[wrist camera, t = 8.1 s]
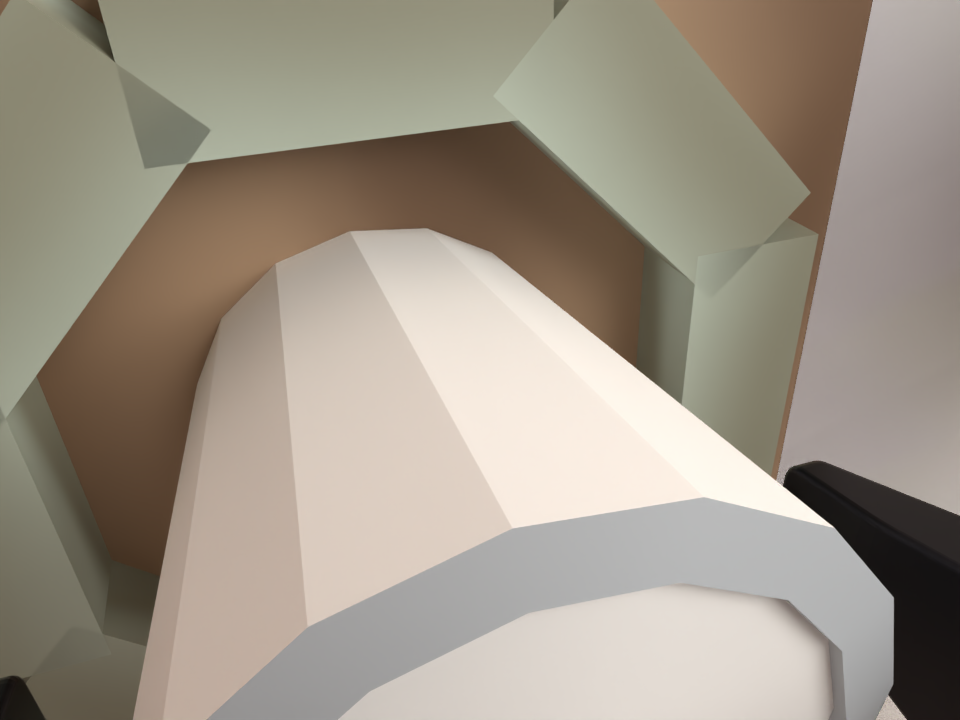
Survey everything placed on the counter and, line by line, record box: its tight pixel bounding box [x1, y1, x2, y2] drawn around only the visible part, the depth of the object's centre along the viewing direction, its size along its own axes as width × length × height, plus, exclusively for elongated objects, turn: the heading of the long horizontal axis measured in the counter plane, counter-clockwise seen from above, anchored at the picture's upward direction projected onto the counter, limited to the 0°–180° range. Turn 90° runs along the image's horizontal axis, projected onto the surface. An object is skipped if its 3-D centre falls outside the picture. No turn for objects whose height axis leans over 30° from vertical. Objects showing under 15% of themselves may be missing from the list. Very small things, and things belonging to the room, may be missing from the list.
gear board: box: [0, 0, 873, 720], centre depth 14 cm, size 16×24×4 cm, turn 3°
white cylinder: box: [133, 228, 894, 720], centre depth 9 cm, size 7×7×7 cm
